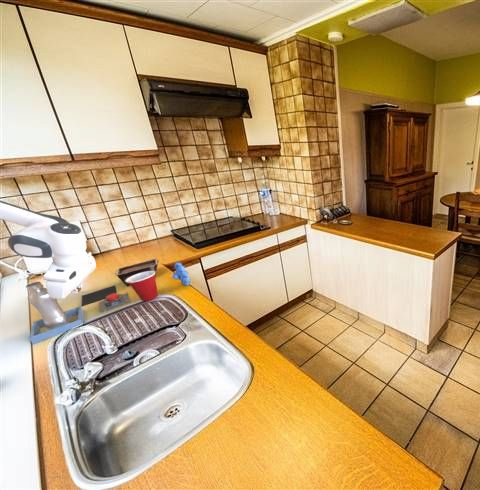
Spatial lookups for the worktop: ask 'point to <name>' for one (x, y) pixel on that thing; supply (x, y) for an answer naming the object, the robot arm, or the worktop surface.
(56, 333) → the dish rack
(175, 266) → the grapes
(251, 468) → the worktop surface
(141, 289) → the plastic cup
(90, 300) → the drying mat
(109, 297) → the button
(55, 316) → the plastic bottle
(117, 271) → the baking dish
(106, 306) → the control block
